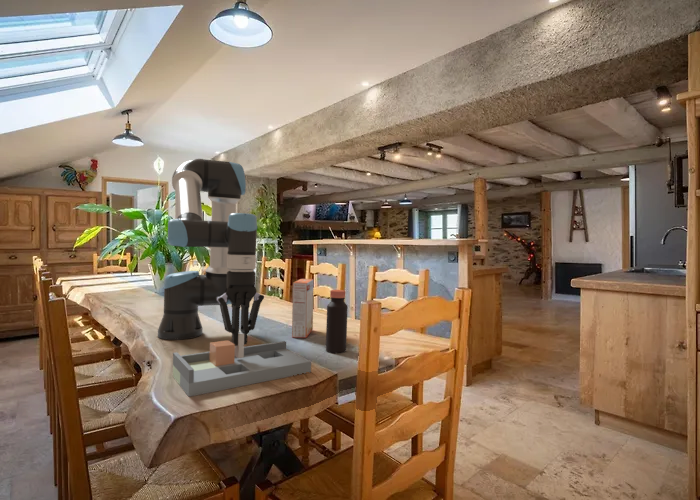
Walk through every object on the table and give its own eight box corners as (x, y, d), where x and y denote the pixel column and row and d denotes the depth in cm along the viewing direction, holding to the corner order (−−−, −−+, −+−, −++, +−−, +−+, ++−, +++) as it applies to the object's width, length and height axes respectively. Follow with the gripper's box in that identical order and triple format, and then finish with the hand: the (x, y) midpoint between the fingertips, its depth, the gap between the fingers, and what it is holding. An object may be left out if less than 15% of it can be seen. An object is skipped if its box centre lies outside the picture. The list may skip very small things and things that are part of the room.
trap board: (172, 375, 100) (173, 352, 100) (284, 357, 119) (284, 337, 119) (188, 396, 87) (189, 370, 87) (310, 372, 106) (311, 350, 106)
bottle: (338, 354, 123) (340, 292, 123) (321, 351, 127) (323, 290, 127) (350, 350, 129) (352, 290, 129) (333, 346, 133) (335, 288, 132)
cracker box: (298, 329, 157) (300, 278, 157) (313, 330, 157) (314, 278, 157) (290, 337, 143) (292, 281, 143) (306, 338, 143) (308, 282, 143)
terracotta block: (209, 361, 103) (209, 342, 103) (227, 358, 106) (228, 340, 106) (215, 366, 99) (215, 346, 99) (234, 363, 102) (234, 344, 102)
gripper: (222, 271, 98) (219, 364, 98) (269, 271, 106) (267, 356, 106) (212, 269, 104) (210, 356, 104) (258, 269, 112) (256, 350, 112)
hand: (239, 356), depth 105 cm, fingers closed
